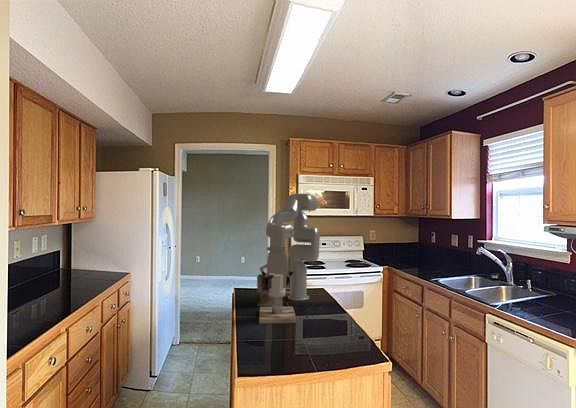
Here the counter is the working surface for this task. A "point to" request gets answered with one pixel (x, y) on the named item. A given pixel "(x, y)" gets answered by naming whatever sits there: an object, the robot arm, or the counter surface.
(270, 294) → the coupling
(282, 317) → the post base
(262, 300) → the coffee box
